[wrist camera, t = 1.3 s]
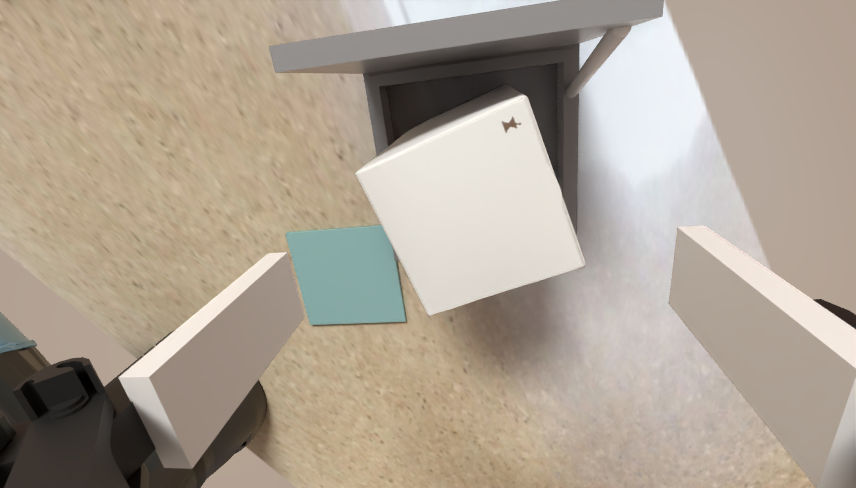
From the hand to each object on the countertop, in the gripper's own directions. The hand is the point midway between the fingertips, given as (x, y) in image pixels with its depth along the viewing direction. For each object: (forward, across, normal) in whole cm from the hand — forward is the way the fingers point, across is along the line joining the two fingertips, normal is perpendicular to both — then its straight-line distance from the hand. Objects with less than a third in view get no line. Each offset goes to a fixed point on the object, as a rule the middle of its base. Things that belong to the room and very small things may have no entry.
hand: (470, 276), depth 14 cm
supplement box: (+21, 0, 0) cm, 21 cm away
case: (+21, 0, 0) cm, 21 cm away
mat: (+21, -13, -10) cm, 27 cm away
